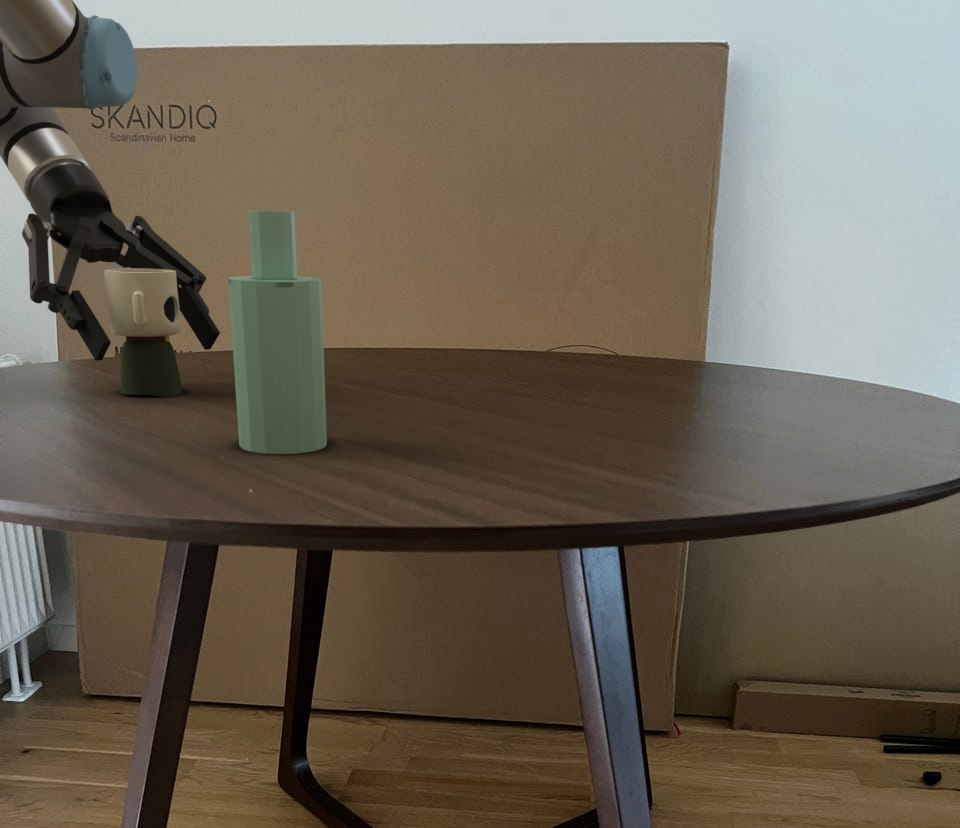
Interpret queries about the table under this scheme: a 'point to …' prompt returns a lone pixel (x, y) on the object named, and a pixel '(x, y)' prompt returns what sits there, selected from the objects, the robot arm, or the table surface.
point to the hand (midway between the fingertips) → (160, 346)
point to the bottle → (278, 344)
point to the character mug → (145, 328)
